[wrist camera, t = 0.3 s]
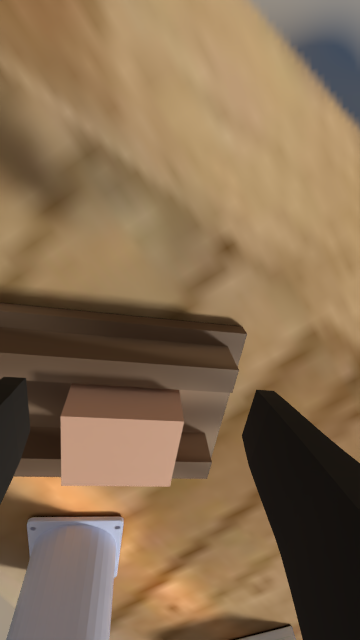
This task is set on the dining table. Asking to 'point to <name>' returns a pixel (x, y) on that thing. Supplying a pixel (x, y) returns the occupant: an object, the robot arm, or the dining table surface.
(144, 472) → the terracotta block
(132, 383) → the taupe railed channel
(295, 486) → the robot arm
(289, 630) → the ink cartridge box
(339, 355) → the dining table surface
